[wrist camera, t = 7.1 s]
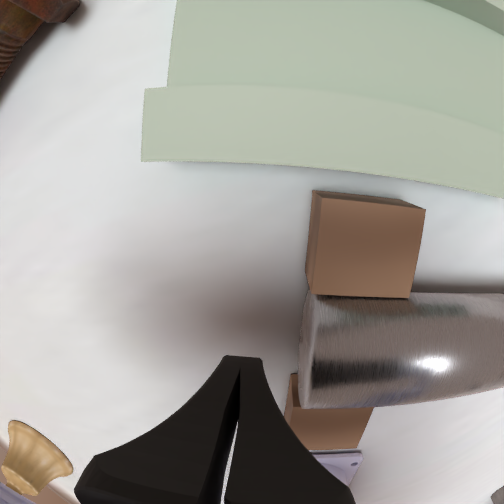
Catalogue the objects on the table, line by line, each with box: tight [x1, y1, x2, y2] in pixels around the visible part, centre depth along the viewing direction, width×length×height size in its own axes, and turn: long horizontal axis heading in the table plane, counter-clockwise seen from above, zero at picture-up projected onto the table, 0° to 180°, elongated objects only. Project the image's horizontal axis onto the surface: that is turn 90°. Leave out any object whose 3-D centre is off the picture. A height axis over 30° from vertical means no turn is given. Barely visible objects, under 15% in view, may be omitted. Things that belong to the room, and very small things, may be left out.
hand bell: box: [1, 421, 73, 496], centre depth 14 cm, size 8×8×16 cm
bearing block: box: [284, 190, 426, 450], centre depth 13 cm, size 13×4×2 cm, turn 177°
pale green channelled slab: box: [141, 0, 504, 199], centre depth 9 cm, size 11×16×3 cm
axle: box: [298, 289, 504, 409], centre depth 12 cm, size 14×5×5 cm, turn 87°
